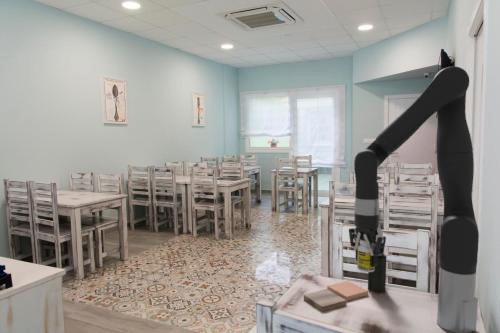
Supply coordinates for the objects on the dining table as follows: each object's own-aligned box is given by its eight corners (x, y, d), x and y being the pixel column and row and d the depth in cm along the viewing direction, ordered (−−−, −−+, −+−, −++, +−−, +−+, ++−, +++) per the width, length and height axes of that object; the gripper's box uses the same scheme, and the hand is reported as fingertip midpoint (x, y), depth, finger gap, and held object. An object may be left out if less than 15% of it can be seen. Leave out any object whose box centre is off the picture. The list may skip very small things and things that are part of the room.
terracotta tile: (368, 294, 127) (368, 290, 127) (346, 300, 122) (346, 296, 122) (348, 284, 136) (348, 280, 136) (327, 289, 131) (327, 285, 131)
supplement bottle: (355, 271, 115) (356, 241, 115) (359, 265, 120) (359, 236, 120) (373, 273, 113) (373, 243, 112) (376, 268, 118) (376, 238, 117)
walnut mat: (346, 304, 120) (346, 300, 119) (322, 311, 115) (322, 306, 115) (326, 293, 128) (326, 288, 128) (303, 298, 124) (303, 294, 124)
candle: (366, 289, 131) (368, 222, 129) (373, 285, 135) (375, 220, 133) (379, 294, 127) (382, 224, 125) (386, 290, 131) (388, 222, 129)
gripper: (393, 214, 111) (392, 268, 112) (358, 207, 123) (358, 255, 125) (375, 217, 107) (374, 272, 108) (342, 209, 120) (341, 259, 121)
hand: (366, 263), depth 116 cm, fingers closed on supplement bottle, 5 cm apart
